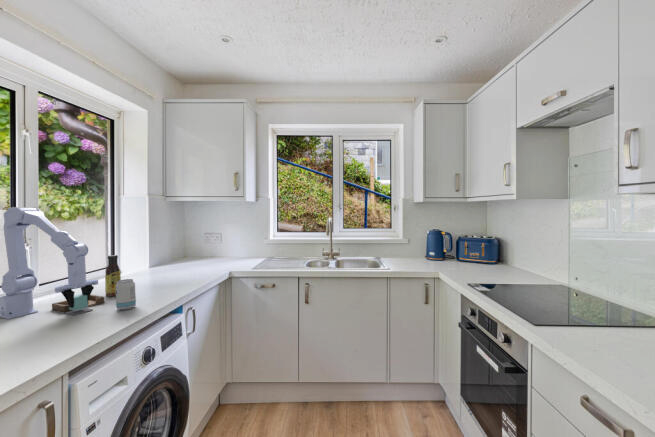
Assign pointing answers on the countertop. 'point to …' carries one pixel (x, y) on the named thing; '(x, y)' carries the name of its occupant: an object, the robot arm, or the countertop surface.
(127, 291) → the beverage can
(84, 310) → the rubber mat
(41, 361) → the countertop surface
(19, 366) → the countertop surface
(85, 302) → the teal block
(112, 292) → the sauce bottle
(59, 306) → the parts box
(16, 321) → the countertop surface
